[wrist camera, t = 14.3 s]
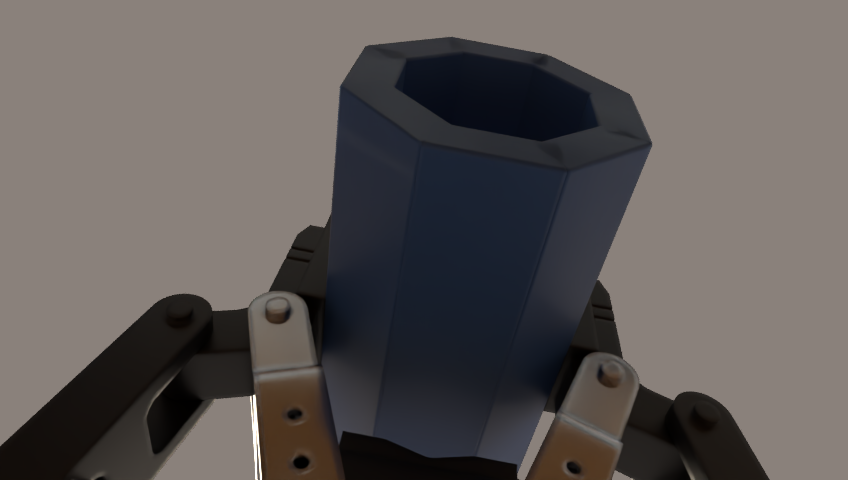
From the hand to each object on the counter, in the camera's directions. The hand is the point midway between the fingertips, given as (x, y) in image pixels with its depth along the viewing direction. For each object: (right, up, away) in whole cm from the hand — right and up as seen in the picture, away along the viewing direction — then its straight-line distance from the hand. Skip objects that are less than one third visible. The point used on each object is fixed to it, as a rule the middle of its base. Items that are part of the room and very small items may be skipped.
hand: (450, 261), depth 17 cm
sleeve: (+1, +3, -6) cm, 7 cm away
